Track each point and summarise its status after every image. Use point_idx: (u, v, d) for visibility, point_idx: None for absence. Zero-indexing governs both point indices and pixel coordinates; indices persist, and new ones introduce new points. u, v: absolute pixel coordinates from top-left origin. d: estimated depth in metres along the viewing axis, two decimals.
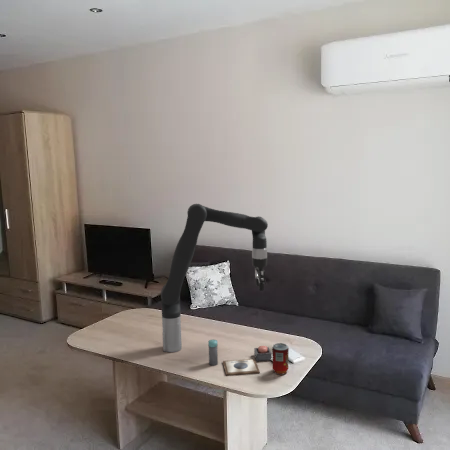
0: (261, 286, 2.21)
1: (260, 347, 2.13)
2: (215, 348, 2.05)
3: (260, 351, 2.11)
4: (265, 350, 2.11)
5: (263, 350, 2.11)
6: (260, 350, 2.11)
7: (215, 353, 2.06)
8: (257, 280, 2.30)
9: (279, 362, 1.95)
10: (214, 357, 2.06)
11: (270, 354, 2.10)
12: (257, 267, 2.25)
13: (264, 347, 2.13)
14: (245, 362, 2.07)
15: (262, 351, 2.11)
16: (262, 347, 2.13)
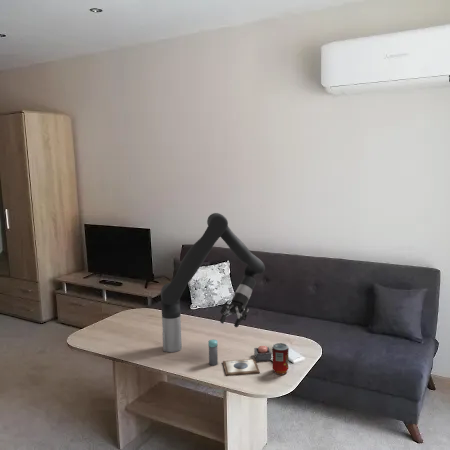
0: (239, 322, 2.13)
1: (260, 347, 2.13)
2: (215, 348, 2.05)
3: (260, 351, 2.11)
4: (265, 350, 2.11)
5: (263, 350, 2.11)
6: (260, 350, 2.11)
7: (215, 353, 2.06)
8: (224, 317, 2.18)
9: (279, 362, 1.95)
10: (214, 357, 2.06)
11: (270, 354, 2.10)
12: (236, 304, 2.19)
13: (264, 347, 2.13)
14: (245, 362, 2.07)
15: (262, 351, 2.11)
16: (262, 347, 2.13)
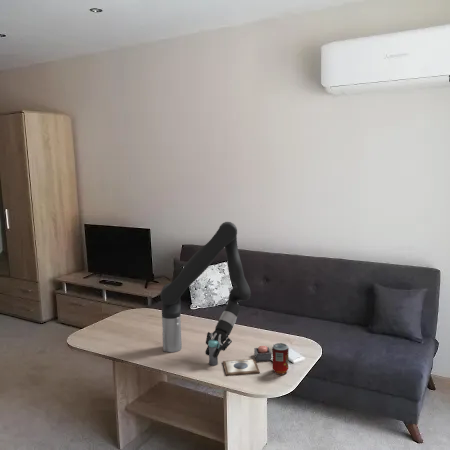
0: (218, 353, 2.05)
1: (260, 347, 2.13)
2: (215, 348, 2.05)
3: (260, 351, 2.11)
4: (265, 350, 2.11)
5: (263, 350, 2.11)
6: (260, 350, 2.11)
7: None
8: None
9: (279, 362, 1.95)
10: None
11: (270, 354, 2.10)
12: (220, 332, 2.10)
13: (264, 347, 2.13)
14: (245, 362, 2.07)
15: (262, 351, 2.11)
16: (262, 347, 2.13)
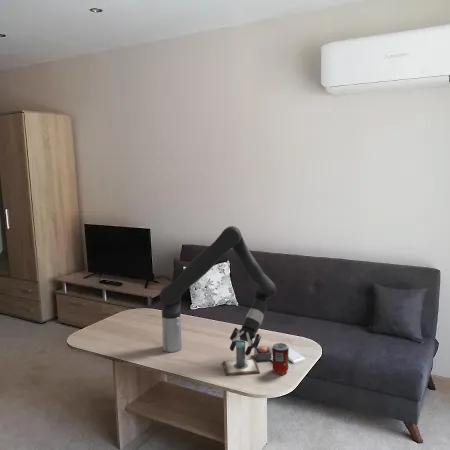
0: (250, 350, 1.99)
1: (260, 347, 2.13)
2: (243, 349, 2.01)
3: (260, 351, 2.11)
4: (265, 350, 2.11)
5: (263, 350, 2.11)
6: (260, 350, 2.11)
7: (243, 354, 2.01)
8: (234, 344, 2.05)
9: (279, 362, 1.95)
10: (242, 358, 2.01)
11: (270, 354, 2.10)
12: (247, 330, 2.05)
13: (264, 347, 2.13)
14: (245, 362, 2.07)
15: (262, 351, 2.11)
16: (262, 347, 2.13)
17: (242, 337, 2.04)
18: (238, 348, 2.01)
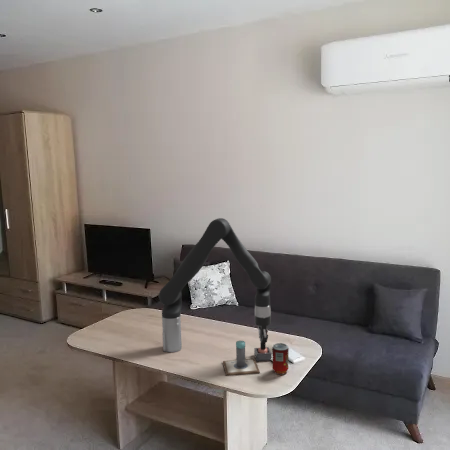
0: (263, 345, 2.11)
1: (260, 348, 2.13)
2: (243, 349, 2.01)
3: (260, 352, 2.12)
4: (265, 351, 2.11)
5: (263, 351, 2.11)
6: (260, 351, 2.11)
7: (243, 355, 2.01)
8: (262, 343, 2.13)
9: (279, 362, 1.95)
10: (242, 359, 2.01)
11: (270, 354, 2.10)
12: None
13: None
14: (245, 362, 2.07)
15: (262, 352, 2.11)
16: None
17: None
18: (238, 348, 2.00)
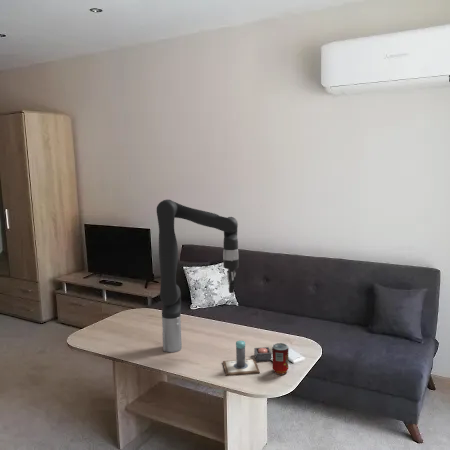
0: (231, 288, 2.19)
1: (260, 349, 2.13)
2: (243, 349, 2.01)
3: None
4: (265, 352, 2.11)
5: (263, 352, 2.11)
6: (260, 352, 2.12)
7: (243, 355, 2.01)
8: None
9: (279, 362, 1.95)
10: (242, 359, 2.01)
11: (270, 354, 2.10)
12: (228, 269, 2.19)
13: (264, 349, 2.13)
14: (245, 362, 2.07)
15: None
16: (262, 349, 2.13)
17: None
18: (238, 348, 2.00)
